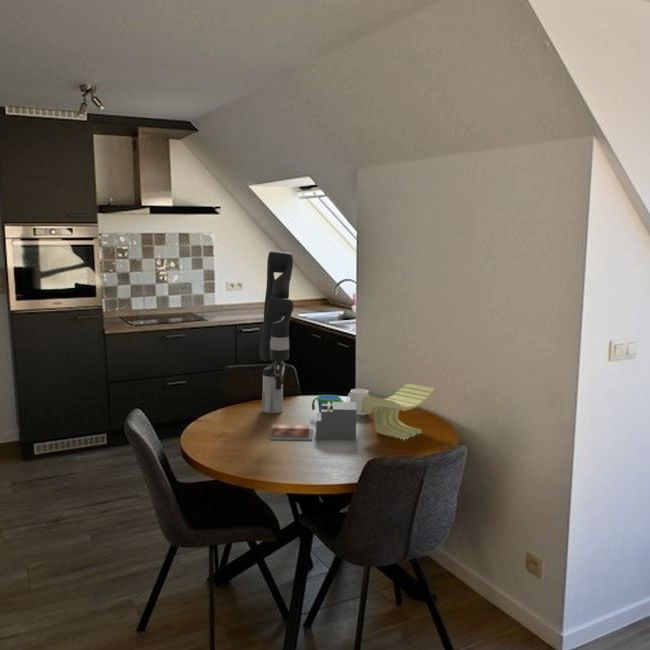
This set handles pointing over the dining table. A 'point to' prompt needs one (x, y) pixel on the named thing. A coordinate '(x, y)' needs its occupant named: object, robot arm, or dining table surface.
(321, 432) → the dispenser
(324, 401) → the snack cup
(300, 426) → the copper bar
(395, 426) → the slatted curved stool
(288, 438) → the mat
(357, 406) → the mug
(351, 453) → the dining table surface
